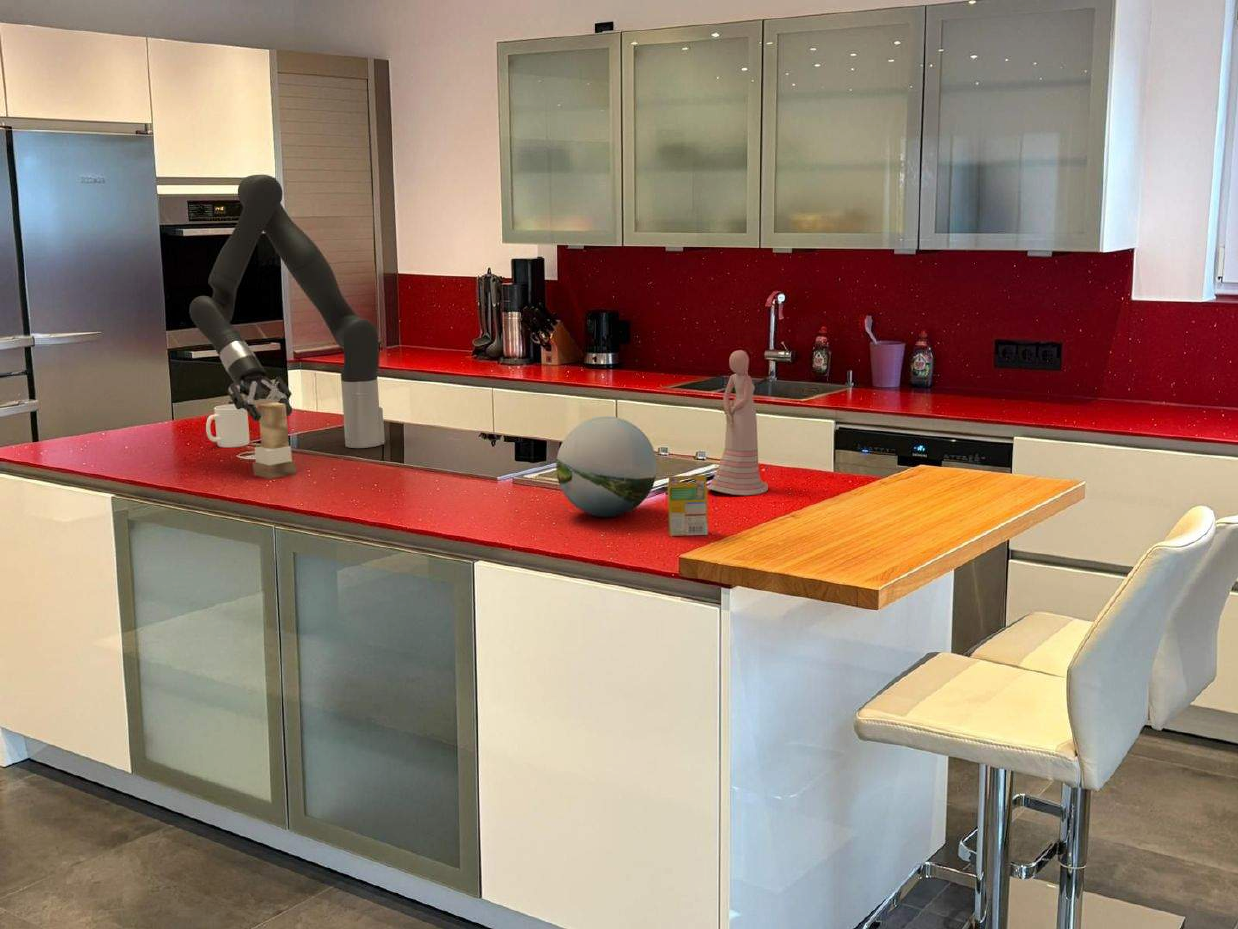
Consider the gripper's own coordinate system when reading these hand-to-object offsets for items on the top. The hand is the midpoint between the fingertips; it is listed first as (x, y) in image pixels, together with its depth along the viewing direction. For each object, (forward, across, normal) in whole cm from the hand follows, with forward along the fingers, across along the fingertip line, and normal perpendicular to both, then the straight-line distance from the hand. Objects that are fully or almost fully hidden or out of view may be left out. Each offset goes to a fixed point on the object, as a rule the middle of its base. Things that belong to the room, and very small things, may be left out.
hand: (274, 416), depth 316 cm
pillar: (+5, 0, +5) cm, 7 cm away
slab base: (+10, -1, +10) cm, 14 cm away
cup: (-20, +13, +40) cm, 46 cm away
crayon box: (+90, +13, -69) cm, 114 cm away
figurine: (+80, +48, -59) cm, 110 cm away
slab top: (+7, -1, +8) cm, 11 cm away
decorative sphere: (+74, +15, -54) cm, 93 cm away
